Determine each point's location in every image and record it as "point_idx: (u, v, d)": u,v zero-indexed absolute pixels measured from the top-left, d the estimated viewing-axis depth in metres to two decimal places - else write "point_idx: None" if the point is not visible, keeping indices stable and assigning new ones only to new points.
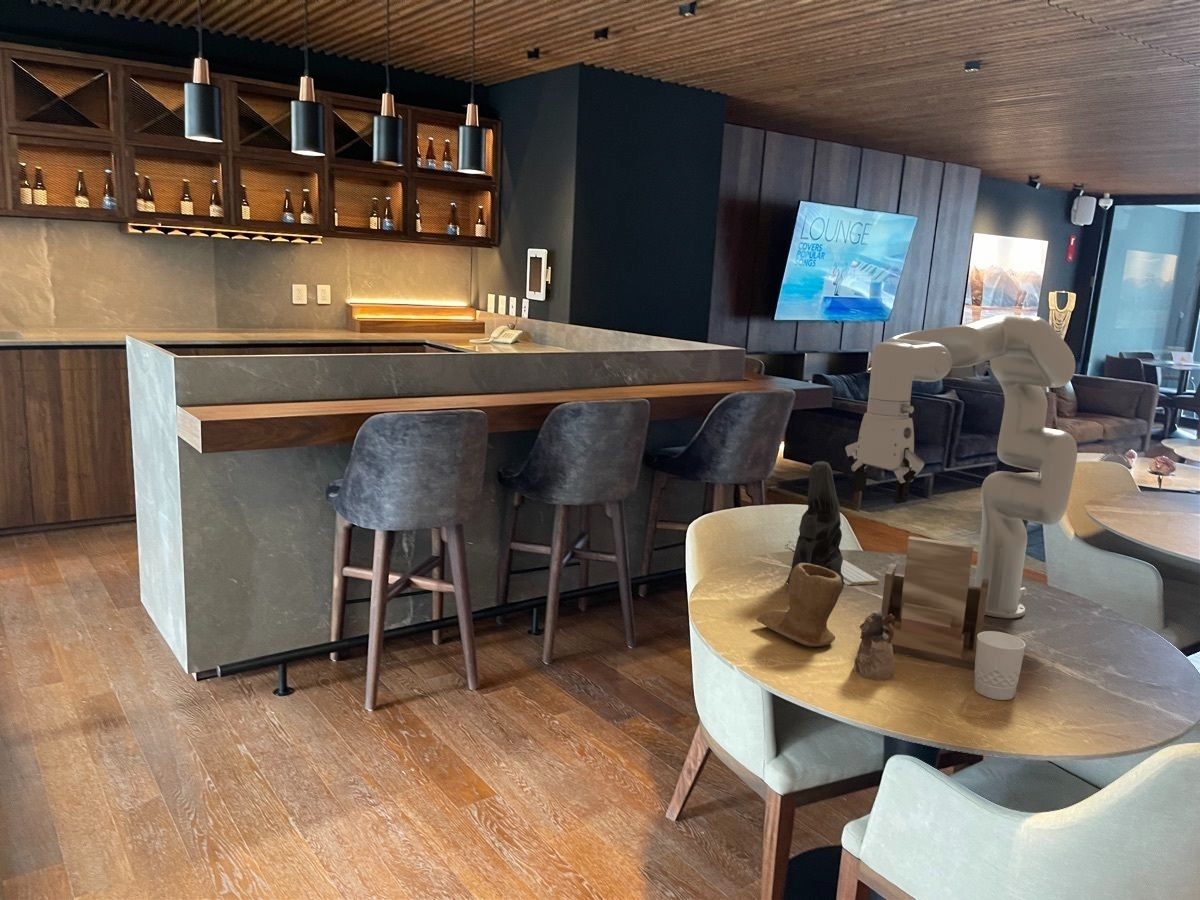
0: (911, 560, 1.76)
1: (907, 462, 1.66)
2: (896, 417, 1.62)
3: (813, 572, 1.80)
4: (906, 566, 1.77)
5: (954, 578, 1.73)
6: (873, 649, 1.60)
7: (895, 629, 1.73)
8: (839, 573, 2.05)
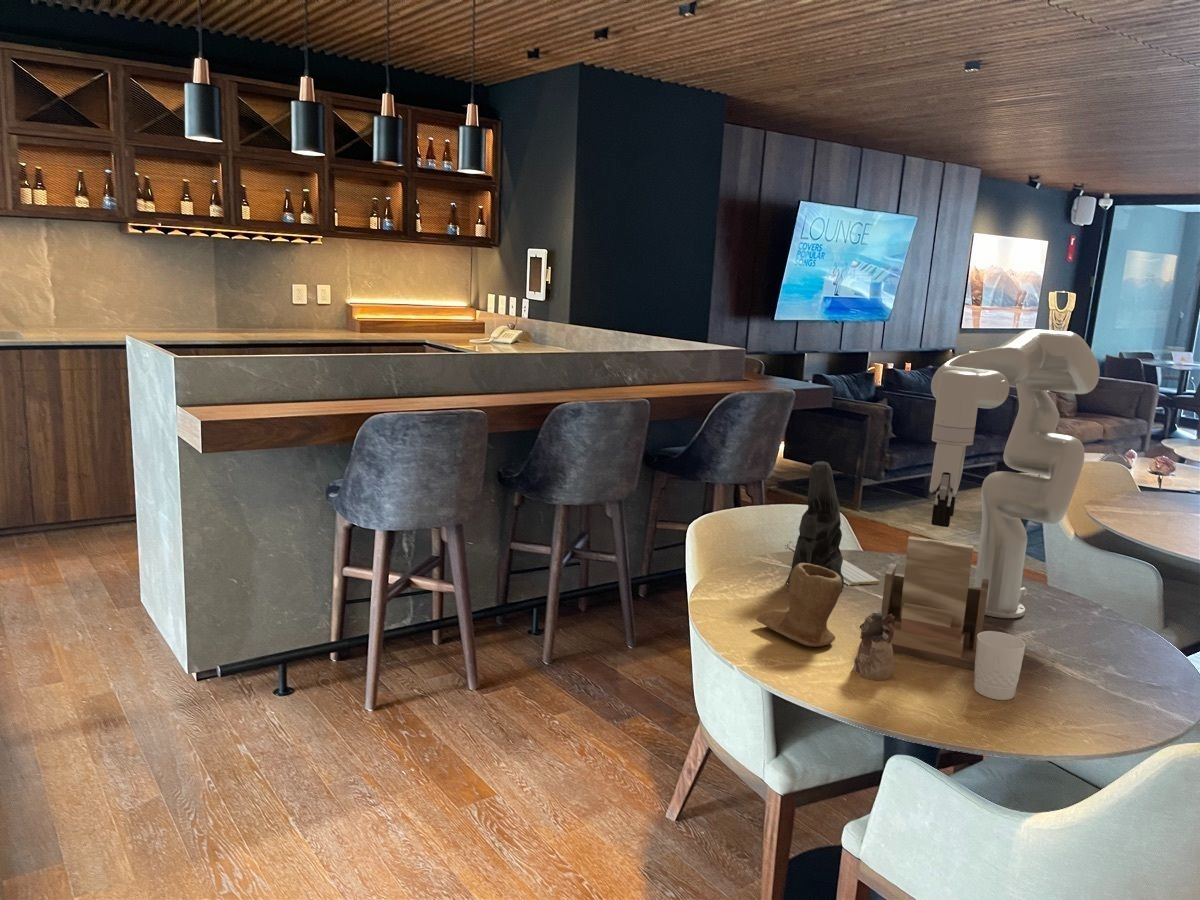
0: (911, 560, 1.76)
1: None
2: None
3: (813, 572, 1.80)
4: (906, 566, 1.77)
5: (954, 578, 1.73)
6: (873, 649, 1.60)
7: (895, 629, 1.73)
8: (839, 573, 2.05)
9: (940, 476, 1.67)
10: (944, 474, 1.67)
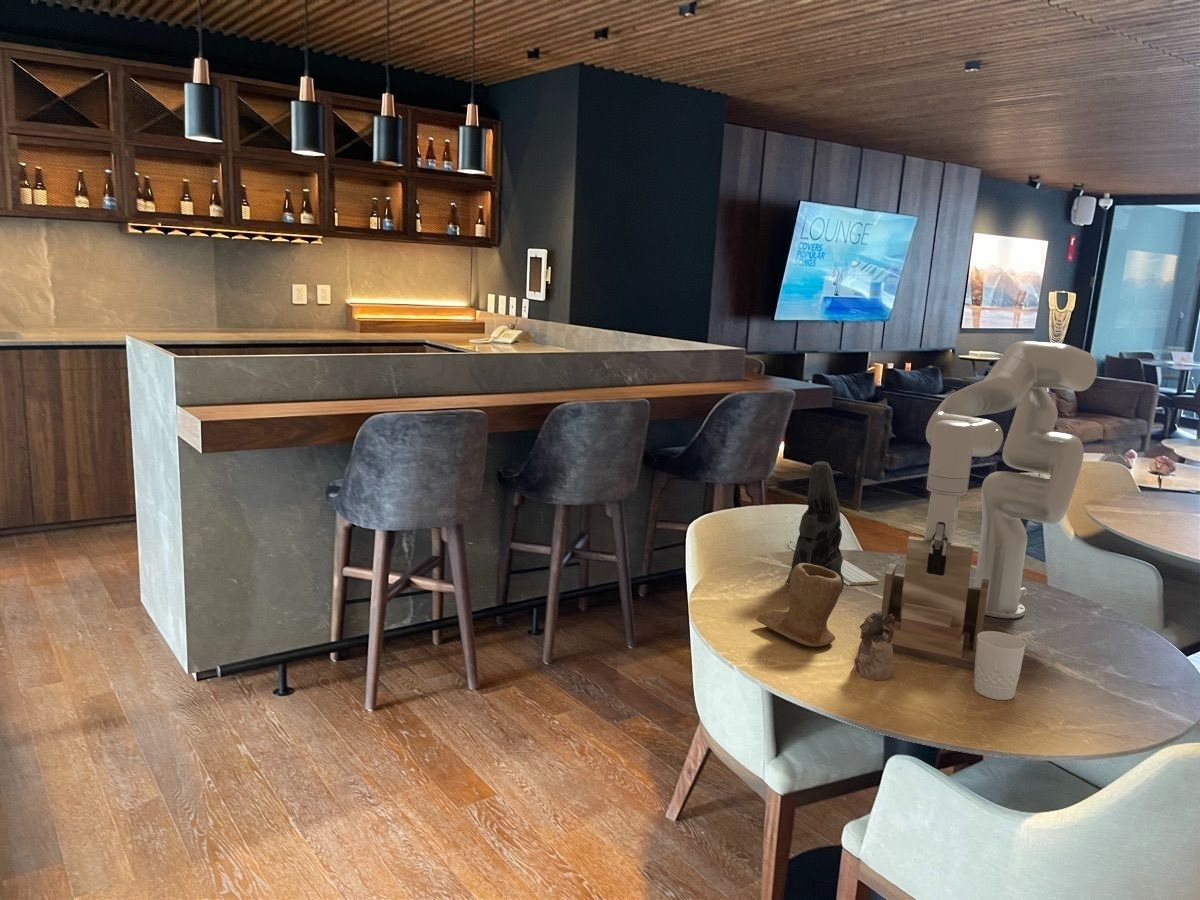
0: (911, 560, 1.76)
1: None
2: None
3: (813, 572, 1.80)
4: (906, 566, 1.77)
5: (954, 578, 1.73)
6: (873, 649, 1.60)
7: (895, 629, 1.73)
8: (839, 573, 2.05)
9: (935, 526, 1.69)
10: (939, 524, 1.69)
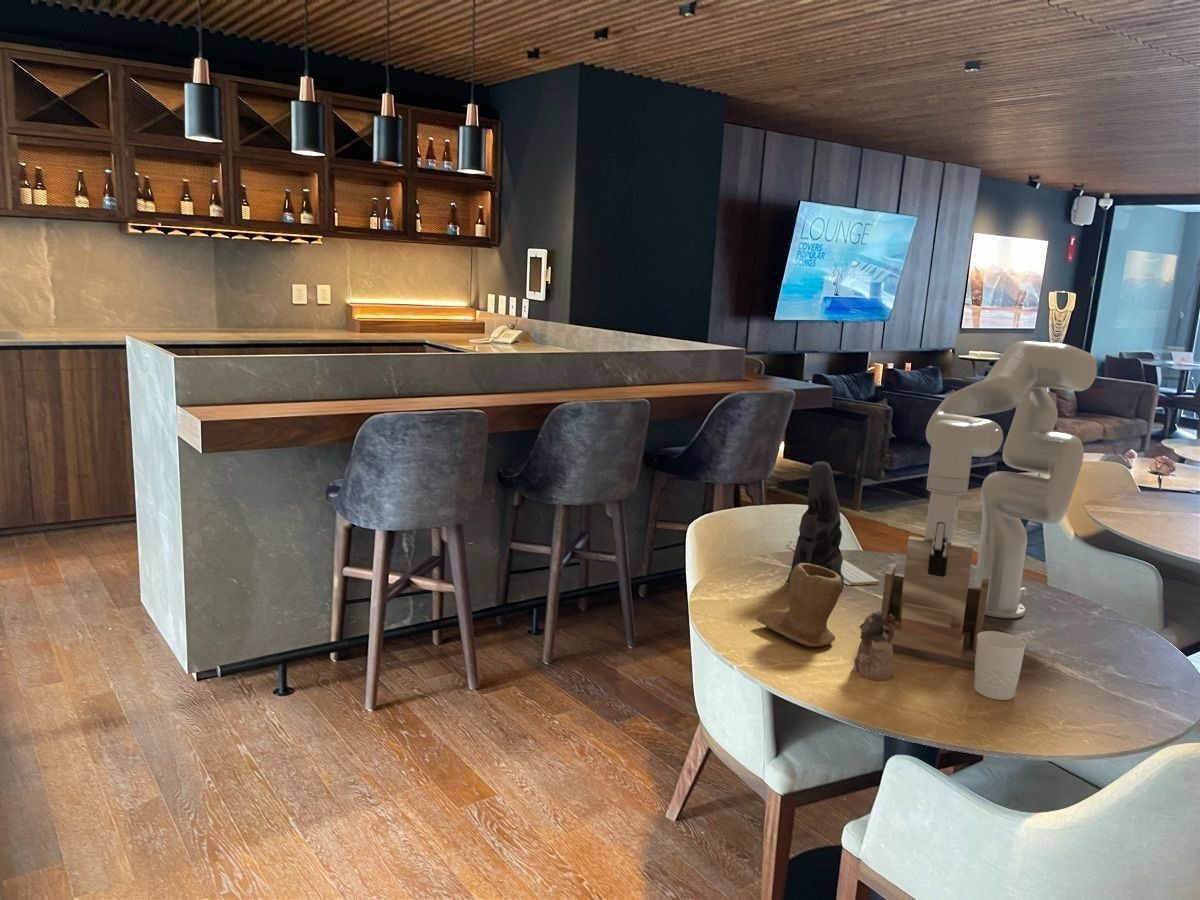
0: (911, 560, 1.76)
1: None
2: None
3: (813, 572, 1.80)
4: (906, 566, 1.77)
5: (954, 578, 1.73)
6: (873, 649, 1.60)
7: (895, 629, 1.73)
8: (839, 573, 2.05)
9: (935, 525, 1.69)
10: (938, 528, 1.69)
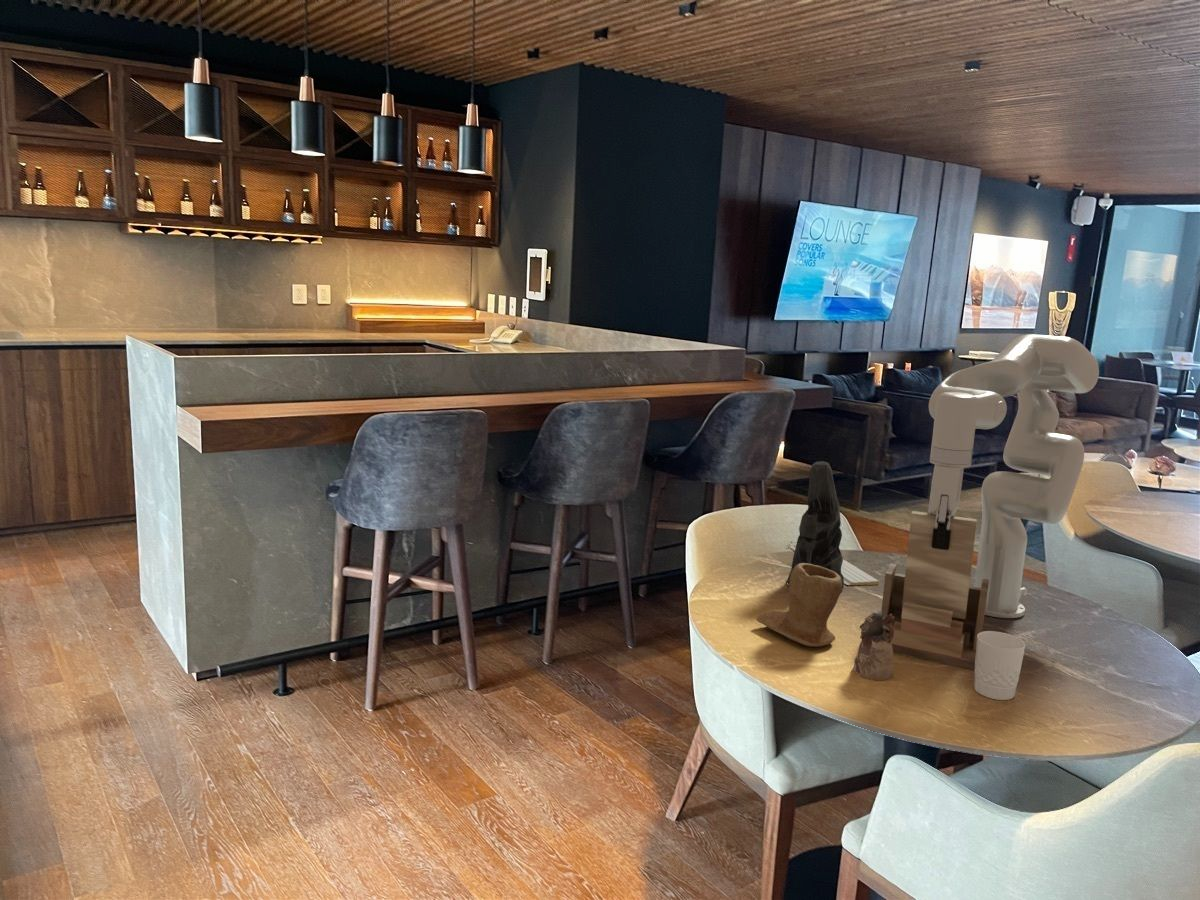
0: (914, 534, 1.75)
1: None
2: None
3: (813, 572, 1.80)
4: (909, 541, 1.76)
5: (958, 552, 1.72)
6: (873, 649, 1.60)
7: (895, 629, 1.73)
8: (839, 573, 2.05)
9: (938, 498, 1.68)
10: (942, 501, 1.68)
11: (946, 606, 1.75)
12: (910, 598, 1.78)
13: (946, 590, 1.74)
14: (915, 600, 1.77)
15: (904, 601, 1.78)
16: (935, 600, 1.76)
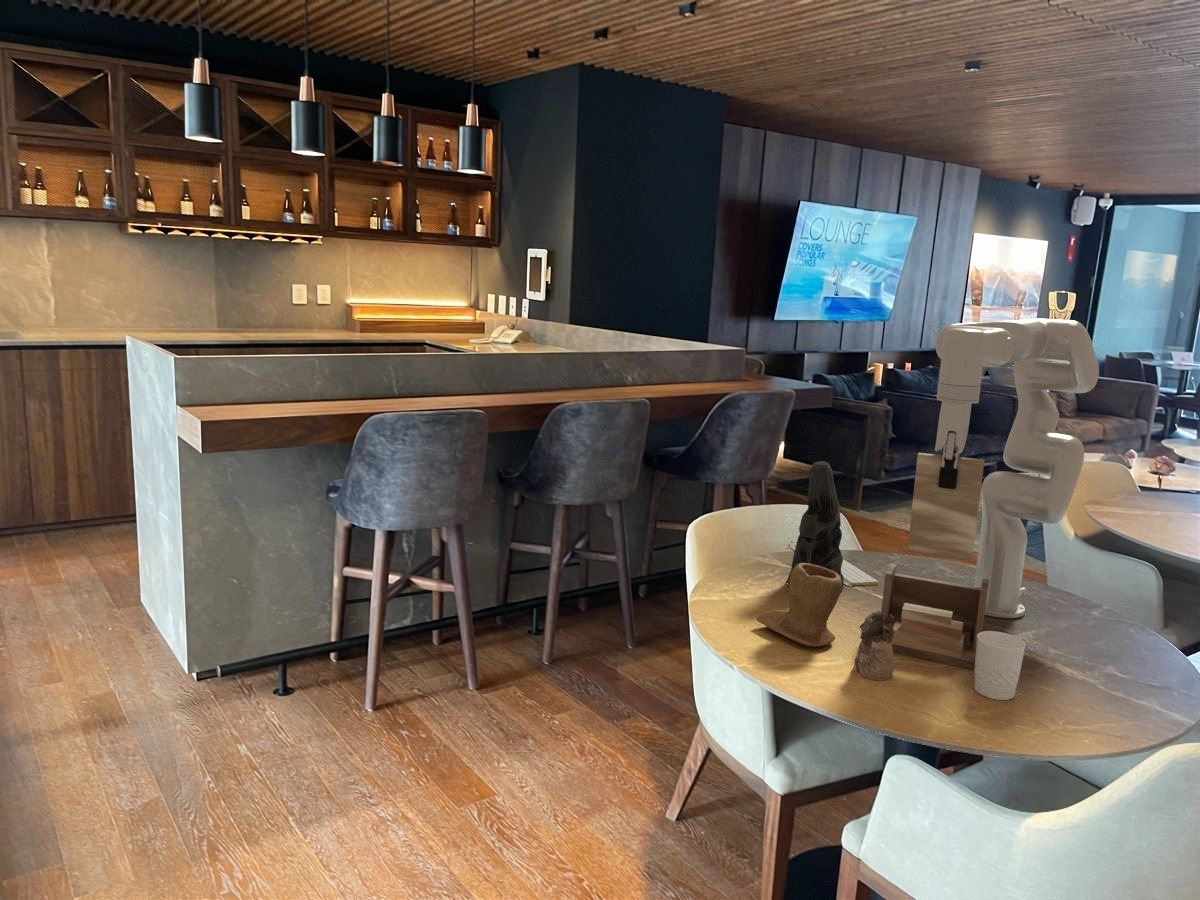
0: (920, 476, 1.73)
1: None
2: None
3: (813, 572, 1.80)
4: (915, 483, 1.74)
5: (965, 493, 1.70)
6: (873, 649, 1.60)
7: (895, 629, 1.73)
8: (839, 573, 2.05)
9: (946, 435, 1.66)
10: (949, 438, 1.66)
11: (952, 549, 1.73)
12: (916, 541, 1.75)
13: (952, 532, 1.72)
14: (921, 543, 1.75)
15: (910, 544, 1.76)
16: (941, 543, 1.73)
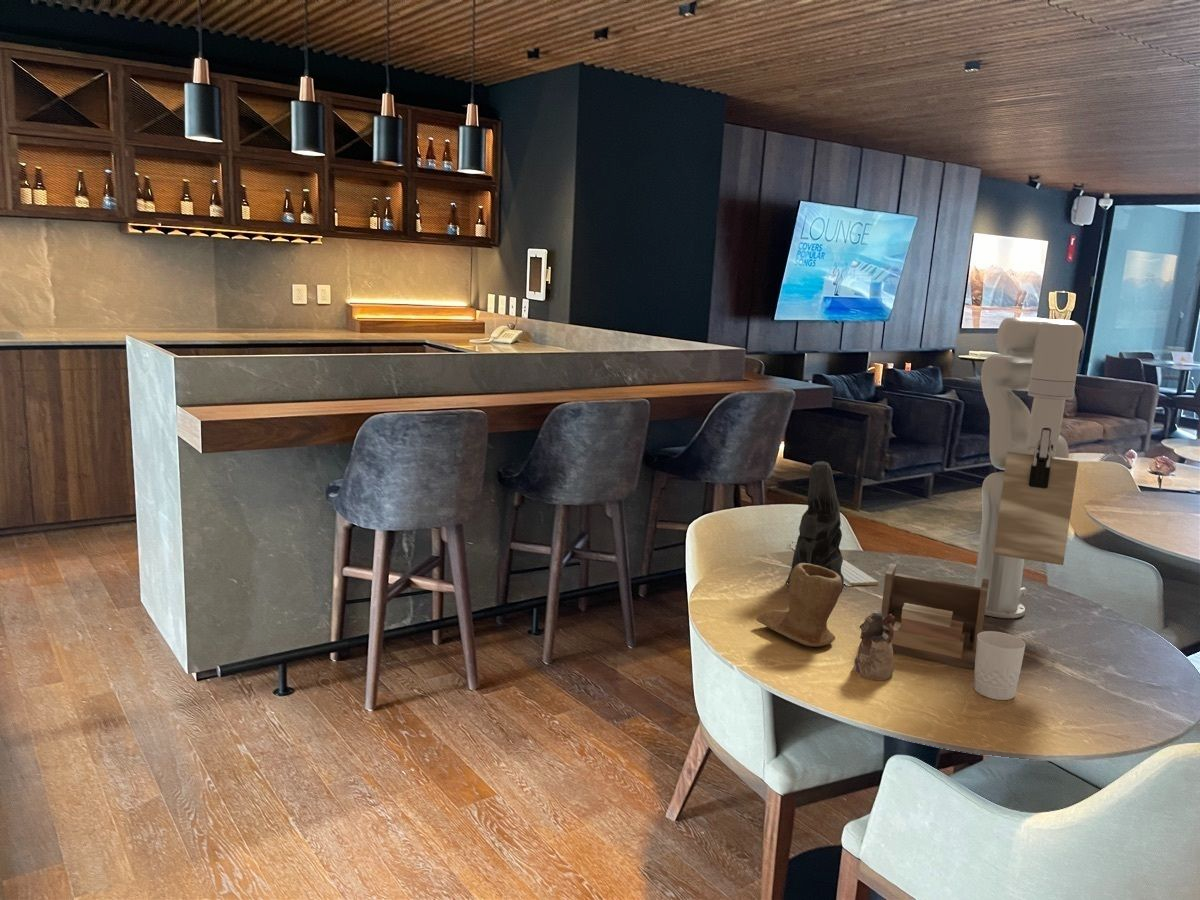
0: (1009, 476, 1.67)
1: None
2: None
3: (813, 572, 1.80)
4: (1004, 483, 1.68)
5: (1057, 494, 1.64)
6: (873, 649, 1.60)
7: (895, 629, 1.73)
8: (839, 573, 2.05)
9: (1040, 432, 1.60)
10: (1043, 435, 1.60)
11: (1042, 552, 1.67)
12: (1004, 543, 1.69)
13: (1043, 535, 1.66)
14: (1008, 546, 1.69)
15: (996, 547, 1.70)
16: (1030, 545, 1.67)
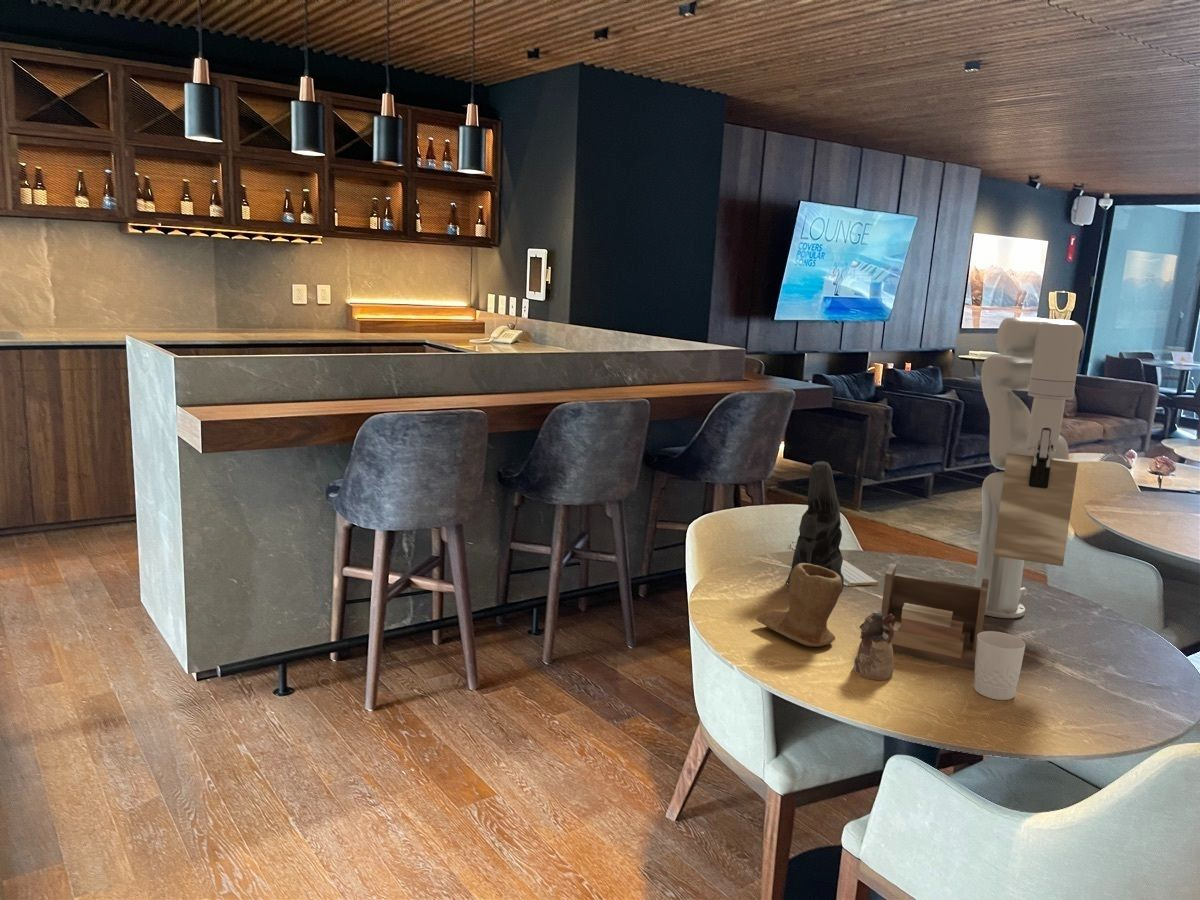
0: (1009, 477, 1.67)
1: None
2: None
3: (813, 572, 1.80)
4: (1004, 484, 1.68)
5: (1057, 496, 1.64)
6: (873, 649, 1.60)
7: (895, 629, 1.73)
8: (839, 573, 2.05)
9: (1040, 432, 1.60)
10: (1043, 435, 1.60)
11: (1042, 553, 1.67)
12: (1003, 544, 1.69)
13: (1042, 536, 1.66)
14: (1008, 547, 1.69)
15: (996, 548, 1.70)
16: (1030, 547, 1.67)
